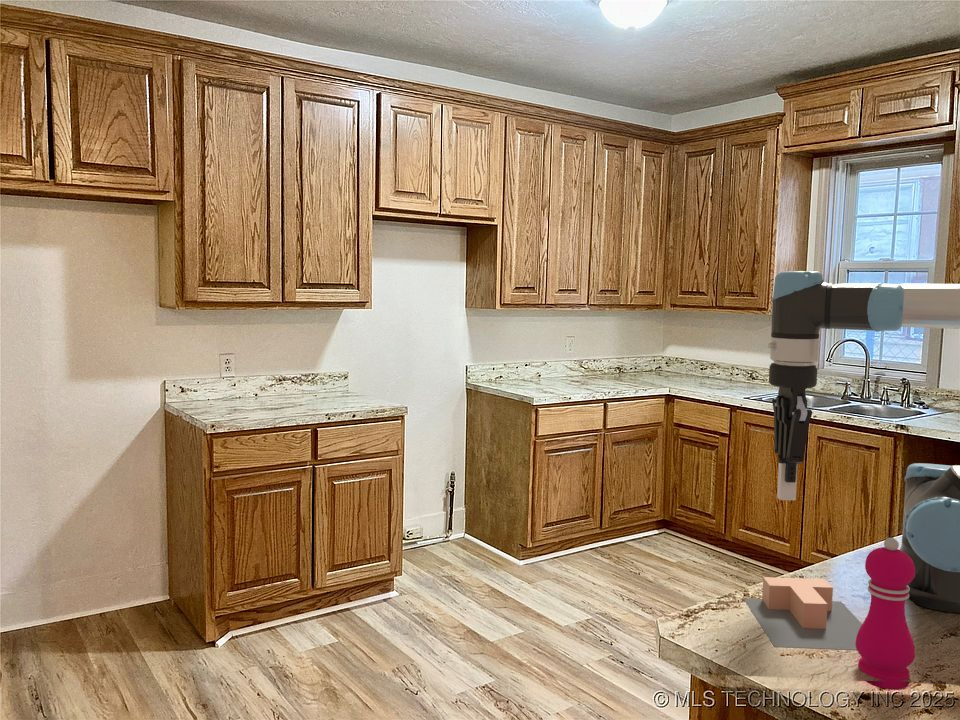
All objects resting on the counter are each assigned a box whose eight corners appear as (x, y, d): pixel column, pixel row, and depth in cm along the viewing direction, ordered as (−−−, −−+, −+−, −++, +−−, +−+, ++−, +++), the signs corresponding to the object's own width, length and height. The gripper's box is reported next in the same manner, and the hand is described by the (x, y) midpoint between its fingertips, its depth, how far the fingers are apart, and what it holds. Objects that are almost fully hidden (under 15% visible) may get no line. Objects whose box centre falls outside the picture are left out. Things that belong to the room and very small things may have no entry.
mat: (840, 608, 126) (840, 601, 126) (887, 658, 109) (887, 651, 109) (742, 604, 127) (743, 598, 127) (774, 654, 110) (774, 646, 110)
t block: (823, 602, 126) (824, 579, 125) (848, 629, 116) (849, 604, 115) (762, 600, 126) (763, 577, 126) (781, 627, 116) (782, 602, 116)
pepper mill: (888, 696, 99) (897, 550, 97) (842, 670, 106) (849, 533, 104) (925, 685, 102) (935, 542, 100) (878, 660, 109) (886, 526, 106)
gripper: (759, 358, 133) (753, 487, 136) (783, 367, 121) (775, 509, 123) (802, 359, 133) (795, 489, 135) (831, 367, 120) (823, 511, 123)
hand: (786, 498), depth 129 cm, fingers closed
